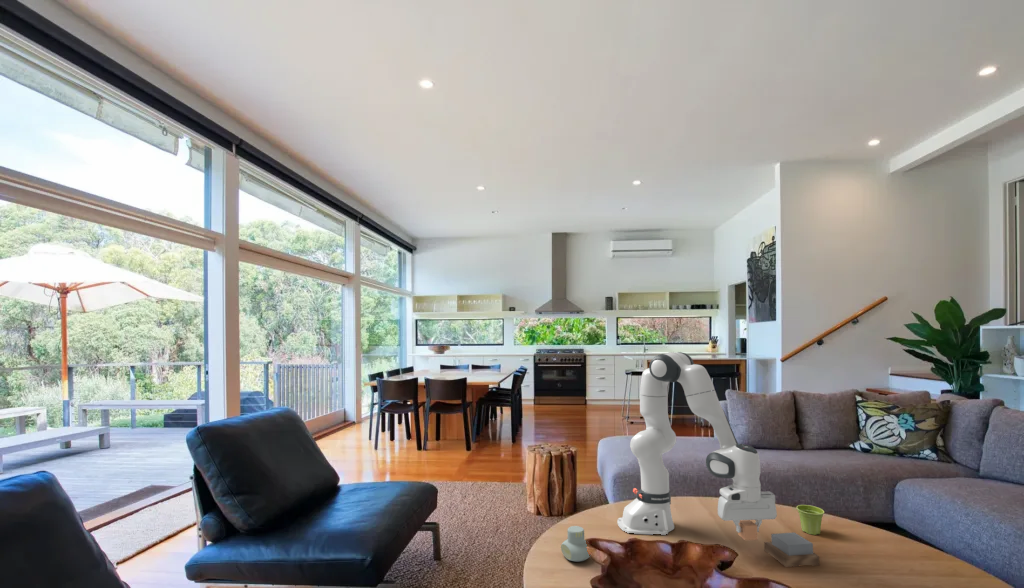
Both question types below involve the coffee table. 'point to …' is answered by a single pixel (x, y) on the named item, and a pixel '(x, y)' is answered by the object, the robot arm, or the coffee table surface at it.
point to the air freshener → (575, 545)
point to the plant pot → (810, 518)
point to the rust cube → (748, 530)
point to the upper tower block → (792, 544)
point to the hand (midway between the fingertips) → (747, 531)
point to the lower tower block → (790, 557)
